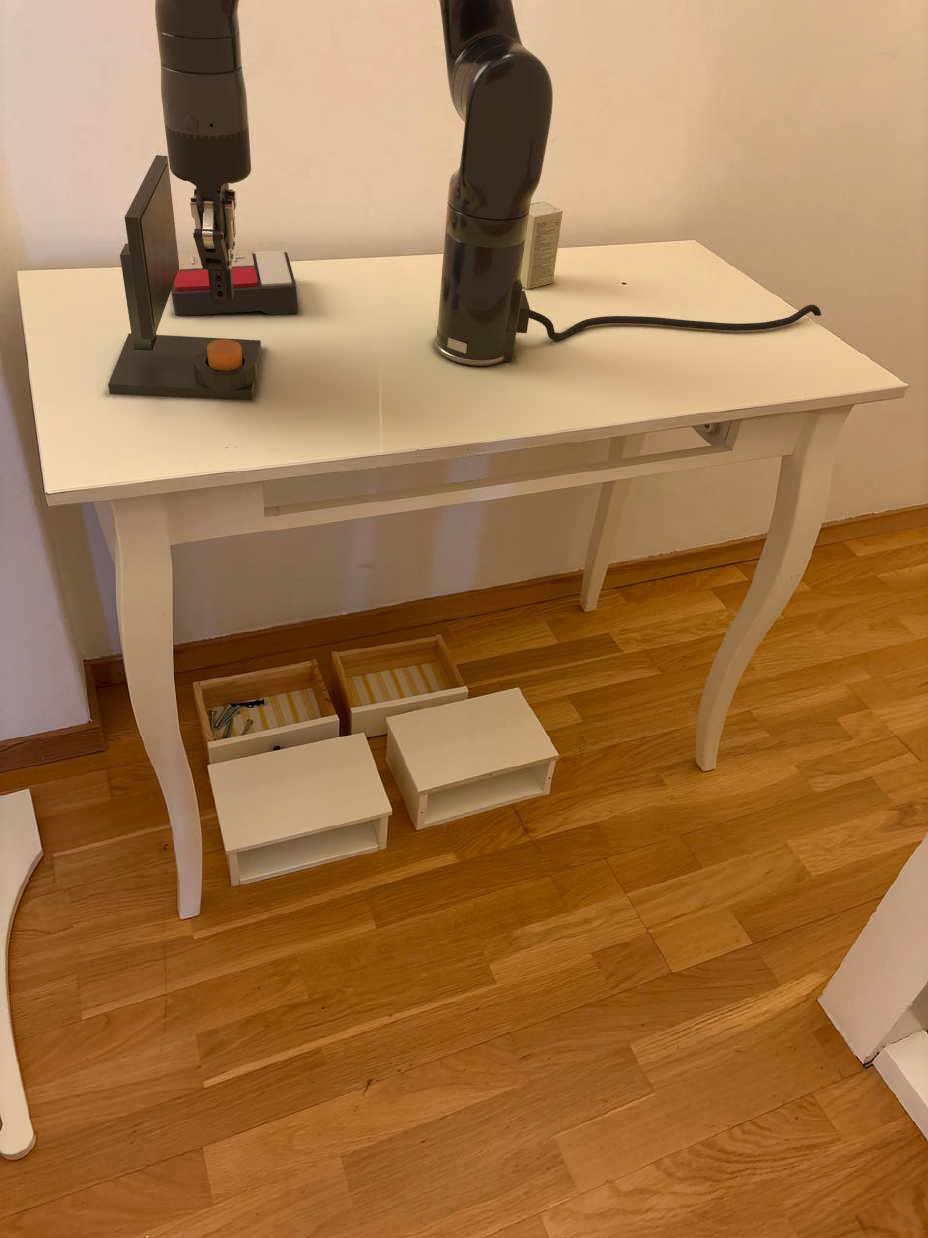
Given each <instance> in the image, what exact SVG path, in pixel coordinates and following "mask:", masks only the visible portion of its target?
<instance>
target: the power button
mask: <svg viewBox="0 0 928 1238" xmlns="http://www.w3.org/2000/svg"><path fill="white" fill-rule="evenodd" d="M227 339H228V338H226V339H221V340H215V341H212V342H210V343H209V344H208V345H207V354H208V364H209V367H211V368H214V369H216V370H227V371H229V370H234V369H238V368H240V367H241V366H242V350H241V345H240V344H239V343H238V342H236V341H233V340H227Z"/></svg>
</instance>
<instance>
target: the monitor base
mask: <svg viewBox="0 0 928 1238" xmlns="http://www.w3.org/2000/svg"><path fill="white" fill-rule="evenodd" d="M156 335H157V339H156V342H155V344H154V347H153V350H134V348H133V342H132V335H131V332H129V333H127V335H126V338H125V341H124V343H123V346H122V349H121V351H120V354H119V357H118V358H117V361H116V364H115V366H114V368H113V371H112V373H111V376H110V379H109V381H108V383H107V386H108V391H109V392H108V393H109V394H110V395H125V396H127V395H129V396H149V397H150V396H151V397H170V398H171V397H172V398H173V397H174V398H191V399H192V398H196V399H213V400H214V399H215V400H216V399H217V400H239V401H253V398H254V394H255V388H256V381H257V376H258V370H259V364H260V359H261V353H262V341H261V340H259V339H244V338H243V339H242V338H227V337H226V338H223V337H207V336H206V337H205V336H186V335H168V334H156ZM221 339H227V340H233V341H236V342H238V343H239V344H240V345H241V350H242V366H241V367H240V368H238V369H234V370H229V371H227V370H216V369H214V368H211V367H209V364H208V354H207V345H208V344H209V343H210V342H212V341H215V340H221Z"/></svg>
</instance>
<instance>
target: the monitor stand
mask: <svg viewBox="0 0 928 1238" xmlns="http://www.w3.org/2000/svg"><path fill="white" fill-rule="evenodd" d="M119 259H120V266H121V273H122V280H123V286H124V287H123V288H124V293H125V300H126V307H127V313H128V320H129V328H130V333H131V335H132V342H133V348H134V350H153V347H154V344H155V342H156V339H157V335H158V334H157V333H156V334H155V337H154V340H145V339H141V332H140V325H139V318H138V311H137V304H136V296H135V289H134V282H133V275H132V268H131V260H130V253H129V246H128V243H124V245H123V247H122V249H121V252H120V254H119Z"/></svg>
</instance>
